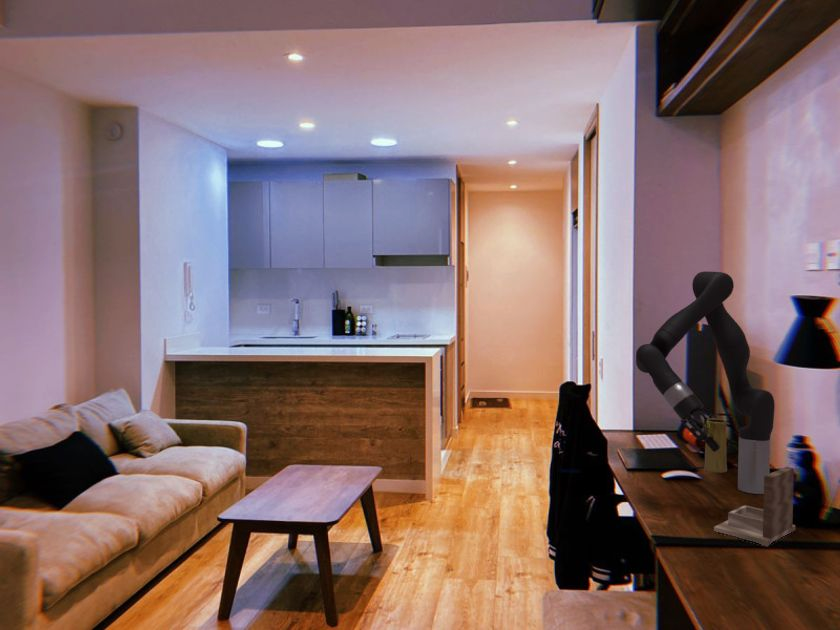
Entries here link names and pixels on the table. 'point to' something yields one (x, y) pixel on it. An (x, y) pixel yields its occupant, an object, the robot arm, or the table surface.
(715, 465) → the vase
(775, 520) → the post stand
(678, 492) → the table surface
